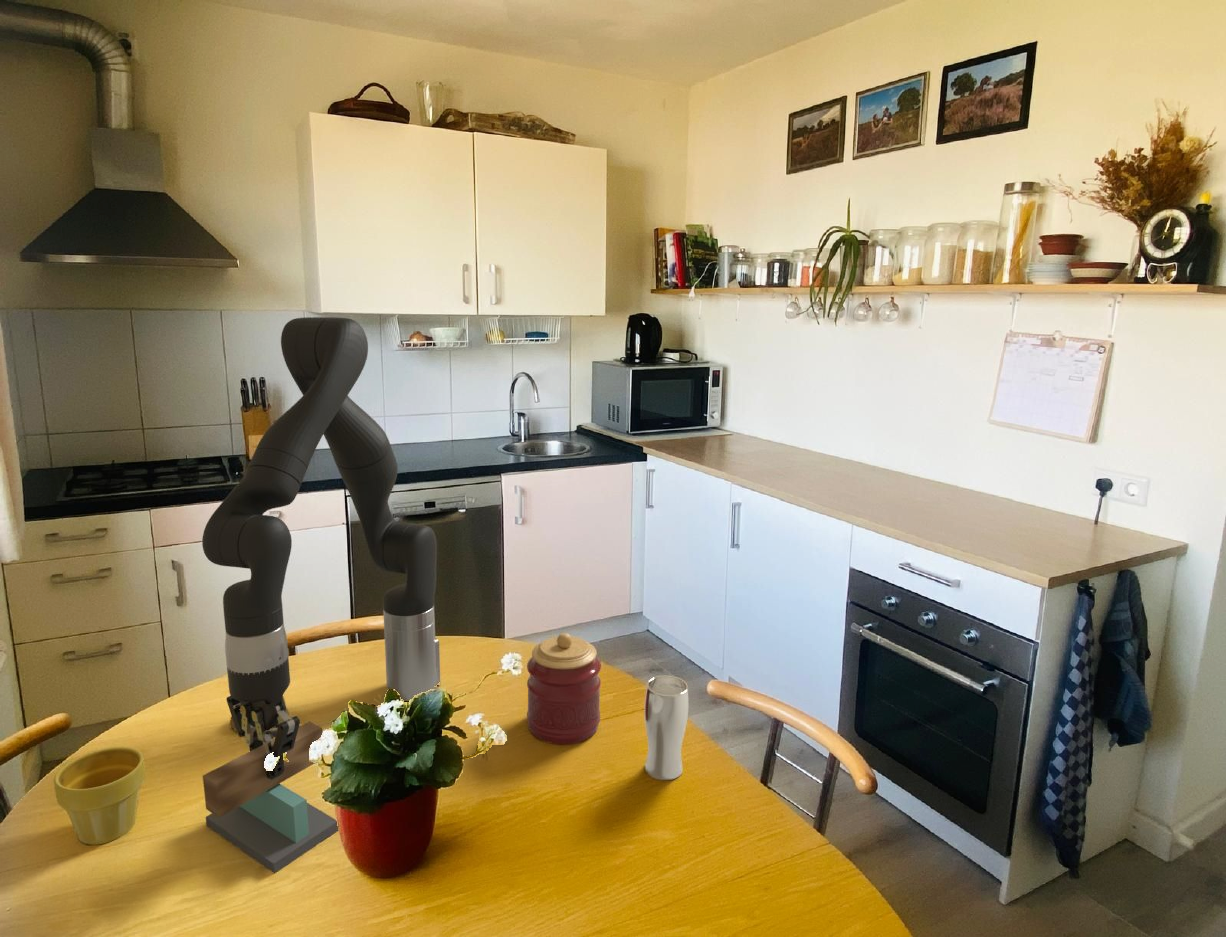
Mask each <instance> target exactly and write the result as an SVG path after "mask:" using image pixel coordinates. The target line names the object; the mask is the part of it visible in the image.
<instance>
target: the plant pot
mask: <svg viewBox="0 0 1226 937" xmlns="http://www.w3.org/2000/svg"><path fill="white" fill-rule="evenodd" d="M145 780H146V767H145V759H144V755H143V754H142V752H141V751H140V750H138V749H136V748H133V747H131V746H130V747H129V746H112V747H105V748H101V749H96V750H94V751H90V752H87V753H84V754H82V755H79V756H78V757H76V758H73V759H72V760H70V761H68V762H67V763H66V764H64V765H63V766H62V767H61V768H60V769H59V770H58V771H57V772H56V774H55V776H54V778H53V786H54V792H55V798H56V802H57V805H58V806H59V807H60V808H61V809H64V810H65V811H66V813H67V816H68V818H69V820H70V822H71V824H72V826H73V828H74V831H75V833H76V836H77V837H78V838H77V839H79V841H80V842H81V843H83V844H85V845H91V846H92V845H101V844H106V843H109V842H113V841H115V840H118V839H119V838H121V837H122V836H124V835H126V834H127V833H128V832H129V831H130V830H131V829H132V828H133V826H134V825H135V823H136V822H135V821H136V815H137V808H138V801H139V795H140V794H139V793H140V788H141V787H142V785H143V784H144V782H145Z"/></svg>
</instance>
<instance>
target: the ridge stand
mask: <svg viewBox="0 0 1226 937" xmlns="http://www.w3.org/2000/svg"><path fill="white" fill-rule="evenodd" d="M336 820H337V819H335V818H334V817H332V816H330V815H329V814H327V813H325V812H323V811H322V810H320V809H319V808H317V807H315V806H314V805H312V804H310V803H308V802H307V798H305V797H303V796H302V795H300V794H298V793H296V792H295V791H293V790H291V789H290V788H288V787H286V786H284V785H283V784H281V783H279V784H278V785H276V786H274V787H272V788H271V789H269V790H267V791H265V792H264V793H262V794H260V795H258V796H256V797H255V798H253V799H251V800H249V801H248V802H246V803H244V804H242V805H241V806H239V807H237V808H235V809H234V810H232V811H230V812H228V813H227V814H225V815H223V816H221V817H217V816H216V815H214V814H213V813H210V814H208V815H206V816H205V825H206V827H208V828H209V829H210V830H211V831H213V832H215V833H216V834H217V835H219V836H220V837H221V838H223V839H225V840H226V841H227V842H228V843H230V844H231V845H233V846H235V847H236V848H237V849H239V850H240V851H241V852H243V853H245V854H246V855H247V856H249V857H250V858H252V859H253V860H255V861H256V862H257V863H259V864H260V865H262V866H263V867H264V868H266V869H268V870H269V871H270V872H271V873H273V874H276V873H278V872H279V871H280V870H282V869H283V868H285V867H287V866H288V865H290V864H291V863H293V861H295V860H297V859H298V858H300V857H301V856H302V855H305V854H306V853H308V852H309V851H310V850H312V849H314V848H315V847H316V846H317V845H319V844H321V843H323V841H325V840H327V839H328V838H329V837H332V836H333V835H334V834H336V833H337V832H338V831H339V830H338V827H339V825H338V826H337V821H338V820H337V821H336Z"/></svg>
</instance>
